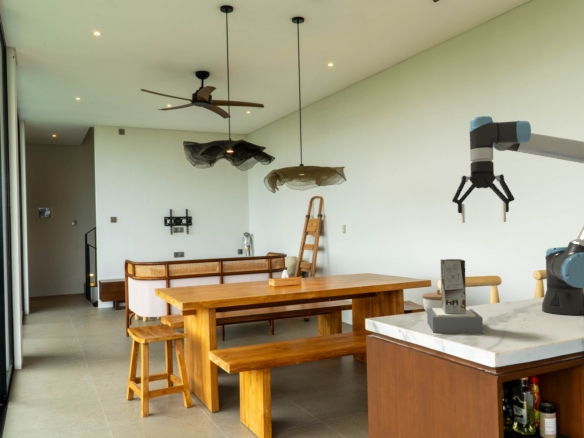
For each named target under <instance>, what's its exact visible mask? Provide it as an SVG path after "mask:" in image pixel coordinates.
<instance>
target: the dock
mask: <svg viewBox="0 0 584 438" xmlns="http://www.w3.org/2000/svg"><path fill="white" fill-rule="evenodd" d="M426 316H427V317H426V318H427V320H426V322H427V325H428V326H429V328H430V330H431V331H432V333H433V334H436V333H437V334H479V335H480V334H482V335H483V334H484V326H483V325H484V322H483V321H484V320H483V317H482V315H480V314H479V313H477V312H476V311H475V310H474V309H472V308H469V307H466V314H449V313H445V312H444V311H443V310H442V308H432V309H427V313H426Z"/></svg>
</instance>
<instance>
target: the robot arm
mask: <svg viewBox="0 0 584 438" xmlns="http://www.w3.org/2000/svg"><path fill="white" fill-rule="evenodd" d="M494 149H495V150H496V151H499V152H505V151H511V152H516V153H517V152H518V153H523V154H527V155H528V154H529V155H534V156H540V157H545V158H550V159H551V158H552V159H557V160H563V161H568V162H574V163H579V164H584V141H583V140H576V139H570V138H564V137H556V136H551V135H545V134H540V133H534V132H532V127H531V123H530V121H528V120H515V121H502V122H501V121H500V122H496V121H494V120H493V117H492V116H488V115H487V116H486V115H483V116H482V115H481V116H475V117H473V118H471V120H470V121H469V150H470V151H469V152H470V153H469V154H470V155H469V157H470V158H469V159H470V162H471V163H470V175H469V176H466V175H463V176H461V178H460V183H459V186H458V187H457V190H456V192H455V193H454V196H453V198H452V200H451V201H452V203H455V204H457V213H458V214H460V221H461V224H464V223H466V220H465V219H466V218H465V217H466V216H465V211H466V210H465V209H466V208H465V203H463V202H464V201H465V200H466V199H467V197H468V196H469V195H470V194H471V193H472V192H473V190H474V189H475V188H476V189H488V188H489V189H490V190H492V192H493V193H495V195H496V196H497V197H498V198H499V199H500V200H501V201H502V203H501V204H500V206H501V207H500V208H501V223H507V213H509V211H510V207H509V206H510V205H509V204H510V202H514V201H515V197H514V196H513V193H512V192H511V191H512V190H510V188H509V186H508V184H507V183H506V181H505V176H504V174H503V173H502V174H500V175H496V174H494V172H495V171H494V170H495V169H494V167H495V166H494V162H493V160H494ZM495 180H496V182H498V183H499V185H500V187H501V188H502V190H503V192H504V193H503V192H502V191H501V190H500V189H499V188H498V187H497V185H495V183H494V181H495ZM469 181H470V182H471V185H470V186H469V187H468V189H467V190H466V191H465V192H464V193H463V195H462V196H461V197H460V195H461V193H462V191H463V189H464V187H465V185H466V183H468V182H469ZM459 197H460V198H459ZM545 251H546V252H545V275H546V277H545V278H546V291H545V294H544V298H543V300H542V304H541V311H542V312H545V313H549V314H555V315H565V316H567V315H568V316H569V315H570V316H580V315H582V316H583V315H584V225H583V226H582V228H581V230H580V232H579V235H578V236H577V238H576V239H573V240H571V241H569V242H568V245H567V246H559V247H558V246H557V247H550V248H548V249H547V250H545Z"/></svg>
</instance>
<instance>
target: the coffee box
mask: <svg viewBox="0 0 584 438" xmlns="http://www.w3.org/2000/svg"><path fill="white" fill-rule="evenodd" d="M440 286H441V287H440V293H441V297H442V310H443V311H444V312H445V313H449V314H466V308H467V303H466V302H467V301H466V300H467V298H466V297H467V295H466V260H464V259H461V258H450V259H449V258H447V259H440Z"/></svg>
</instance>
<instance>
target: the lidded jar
mask: <svg viewBox="0 0 584 438" xmlns="http://www.w3.org/2000/svg"><path fill="white" fill-rule="evenodd" d="M422 305H423V306H422V307H423V308H424V311H425V313H426V314H427V309H432V308H442V297H441V289H436V292H429V293H428V292H426V293H423V294H422Z"/></svg>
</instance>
